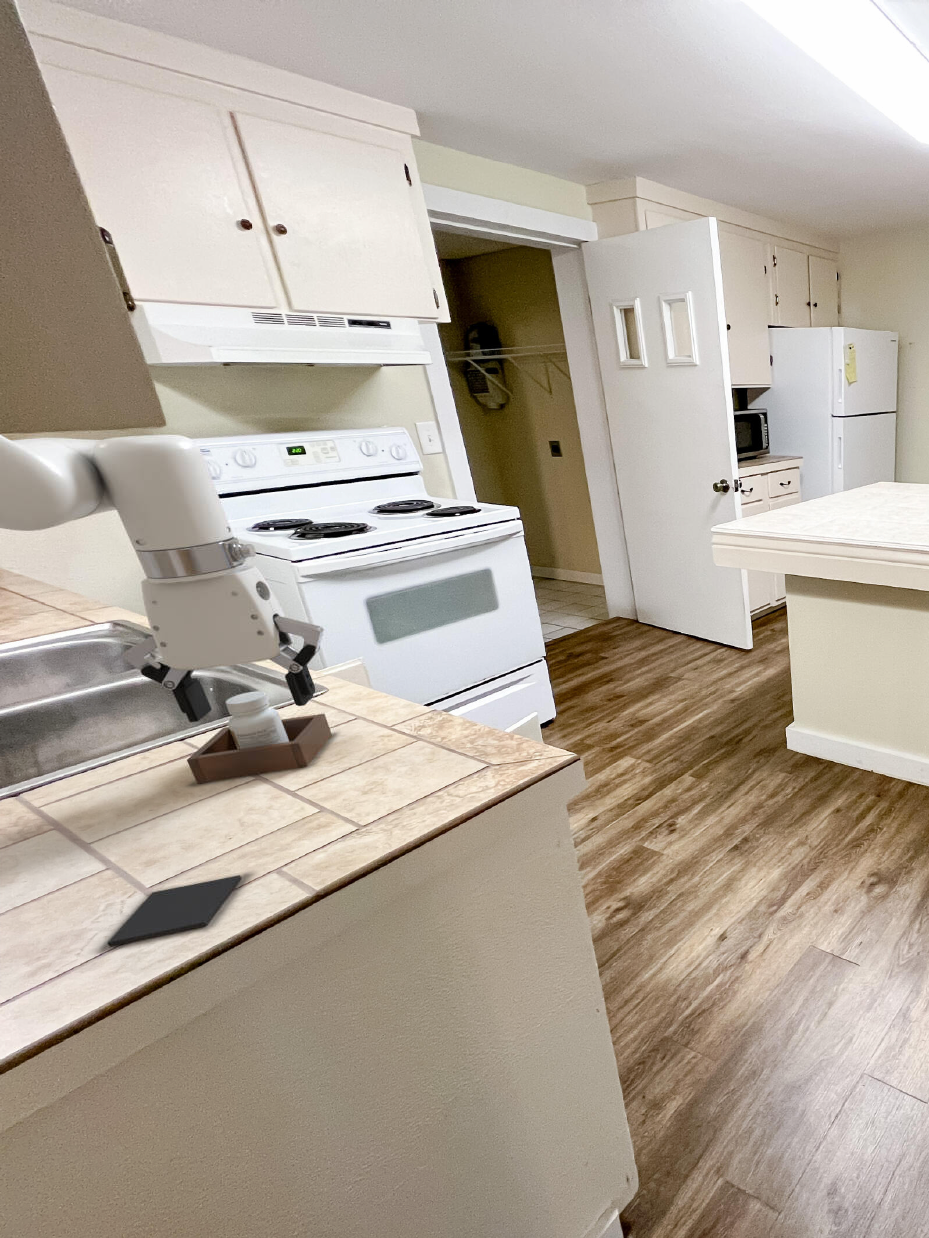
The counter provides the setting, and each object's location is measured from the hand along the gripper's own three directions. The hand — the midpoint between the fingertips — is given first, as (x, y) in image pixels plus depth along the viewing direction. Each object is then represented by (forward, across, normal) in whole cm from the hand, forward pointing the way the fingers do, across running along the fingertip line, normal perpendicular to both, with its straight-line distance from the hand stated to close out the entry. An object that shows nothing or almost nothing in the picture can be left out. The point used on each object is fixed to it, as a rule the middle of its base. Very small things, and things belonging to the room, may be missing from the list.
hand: (254, 708), depth 77 cm
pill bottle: (+6, 0, 0) cm, 6 cm away
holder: (+6, 0, 0) cm, 6 cm away
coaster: (+6, -4, +28) cm, 29 cm away
